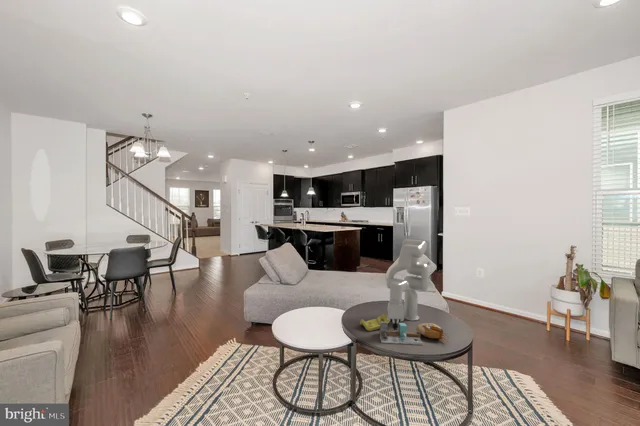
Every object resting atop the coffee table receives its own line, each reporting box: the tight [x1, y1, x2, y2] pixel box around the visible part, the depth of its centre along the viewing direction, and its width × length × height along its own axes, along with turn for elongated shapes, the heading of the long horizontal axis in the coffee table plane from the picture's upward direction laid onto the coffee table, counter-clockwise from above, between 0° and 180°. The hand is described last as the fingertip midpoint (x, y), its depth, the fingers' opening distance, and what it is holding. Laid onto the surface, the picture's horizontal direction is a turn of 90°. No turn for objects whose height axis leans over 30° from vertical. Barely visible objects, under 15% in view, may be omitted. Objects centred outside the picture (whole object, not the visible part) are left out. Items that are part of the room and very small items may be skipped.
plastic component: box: [359, 312, 391, 332], centre depth 190 cm, size 20×7×10 cm
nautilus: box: [415, 322, 449, 344], centre depth 173 cm, size 8×22×15 cm
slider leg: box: [398, 322, 408, 339], centre depth 172 cm, size 11×4×8 cm, turn 176°
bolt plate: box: [379, 335, 424, 346], centre depth 169 cm, size 7×25×1 cm, turn 86°
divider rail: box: [379, 322, 421, 339], centre depth 172 cm, size 11×25×8 cm, turn 86°
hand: (395, 328), depth 176 cm, fingers closed
